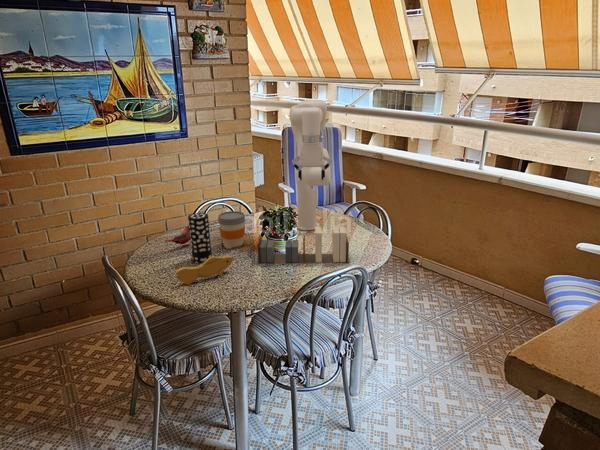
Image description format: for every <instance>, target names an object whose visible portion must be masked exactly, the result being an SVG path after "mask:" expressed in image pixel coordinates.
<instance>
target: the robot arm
mask: <svg viewBox="0 0 600 450" xmlns="http://www.w3.org/2000/svg"><path fill="white" fill-rule="evenodd" d="M327 114H328V107H327V103H326V101H325V100H323V99H303V100H301V101H300V102H299V103H298V104H295V105H292V106H291V107H290V109H289V121H290V126H291V127H290V128H291V132H292V135H293V137H294V140H295V142H296V153H297V154H296V156H297V157H295V158H293V159H291V164H292V166H293V167H294V169H296V171H295V180H296V187H297V212H298V213H297V217H298V218H297V221H298V222H297V225H298V227H297V228H296V229H297V230H300V231H315V227H320V222H317V216H318V215H317V193H316V190H314V189H313V187H320V186H321V187H323V186H329V184H330V183H331V179H332V176H331V174H332V173H331V164H332V159H331V158H330V156H329V155H330V154H329V152H328V149H326V148H325V147H323V142H322V140H325V136H322V135H321V131H323V130H324V129H325V127H326V121H327ZM296 162H297V163H298V164H297V163H296Z"/></svg>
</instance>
